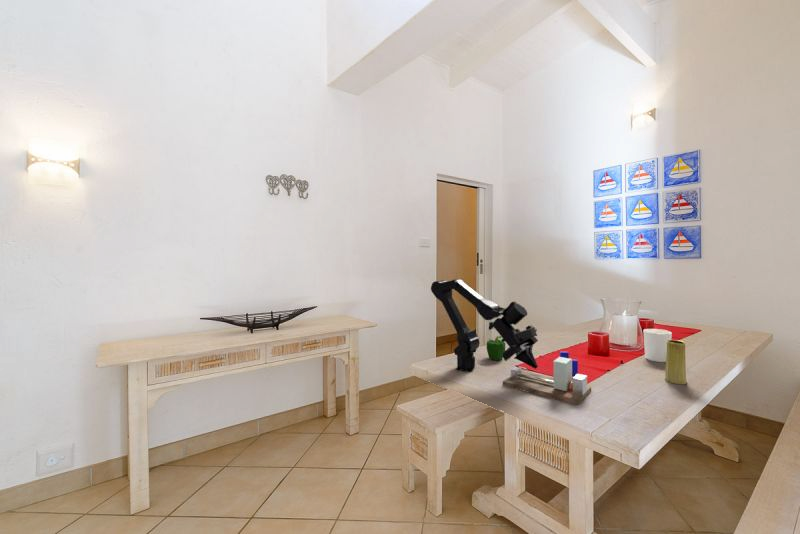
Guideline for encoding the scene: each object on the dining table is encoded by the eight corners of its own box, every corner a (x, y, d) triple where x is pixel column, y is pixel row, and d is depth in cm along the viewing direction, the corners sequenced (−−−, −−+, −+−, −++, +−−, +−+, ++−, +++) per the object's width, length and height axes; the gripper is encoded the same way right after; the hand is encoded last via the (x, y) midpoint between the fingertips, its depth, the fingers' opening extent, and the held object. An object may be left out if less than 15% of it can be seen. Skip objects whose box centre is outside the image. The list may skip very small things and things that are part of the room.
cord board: (502, 385, 124) (502, 380, 124) (519, 374, 135) (519, 370, 135) (578, 404, 107) (578, 399, 107) (591, 390, 117) (591, 386, 117)
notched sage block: (553, 388, 116) (553, 361, 116) (559, 382, 120) (559, 356, 120) (566, 391, 113) (566, 363, 113) (572, 385, 118) (572, 358, 117)
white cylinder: (677, 362, 143) (678, 333, 142) (653, 363, 143) (653, 334, 143) (660, 355, 153) (660, 328, 152) (637, 356, 153) (637, 329, 152)
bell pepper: (489, 361, 151) (488, 339, 150) (484, 356, 159) (484, 334, 158) (508, 361, 151) (508, 338, 150) (502, 355, 159) (502, 334, 159)
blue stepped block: (555, 365, 144) (555, 351, 144) (567, 365, 143) (567, 351, 143) (565, 376, 132) (565, 360, 132) (577, 376, 131) (577, 360, 131)
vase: (682, 379, 125) (682, 340, 125) (689, 385, 120) (690, 344, 119) (661, 377, 127) (662, 339, 127) (668, 383, 122) (669, 343, 121)
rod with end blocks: (509, 380, 127) (509, 364, 127) (515, 376, 131) (515, 361, 131) (582, 397, 111) (582, 380, 110) (587, 393, 114) (587, 375, 114)
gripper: (510, 323, 119) (543, 362, 112) (533, 315, 132) (563, 349, 125) (489, 342, 124) (519, 379, 118) (513, 332, 138) (540, 365, 131)
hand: (536, 367), depth 123 cm, fingers closed
